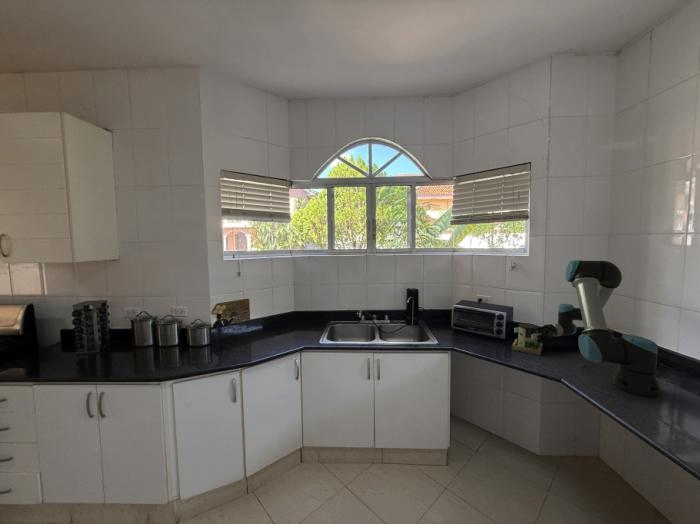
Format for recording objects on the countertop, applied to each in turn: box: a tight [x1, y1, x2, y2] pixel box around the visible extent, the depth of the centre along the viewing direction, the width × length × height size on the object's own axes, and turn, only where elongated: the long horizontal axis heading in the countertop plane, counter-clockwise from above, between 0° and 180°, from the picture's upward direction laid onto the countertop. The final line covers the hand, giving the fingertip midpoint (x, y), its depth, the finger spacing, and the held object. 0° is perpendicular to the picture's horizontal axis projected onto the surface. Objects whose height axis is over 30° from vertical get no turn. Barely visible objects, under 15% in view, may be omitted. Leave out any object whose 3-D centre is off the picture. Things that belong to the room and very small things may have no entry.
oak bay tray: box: [511, 338, 543, 356], centre depth 182 cm, size 14×14×3 cm
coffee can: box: [517, 322, 539, 349], centre depth 181 cm, size 10×10×14 cm
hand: (522, 333), depth 180 cm, fingers open, 12 cm apart
